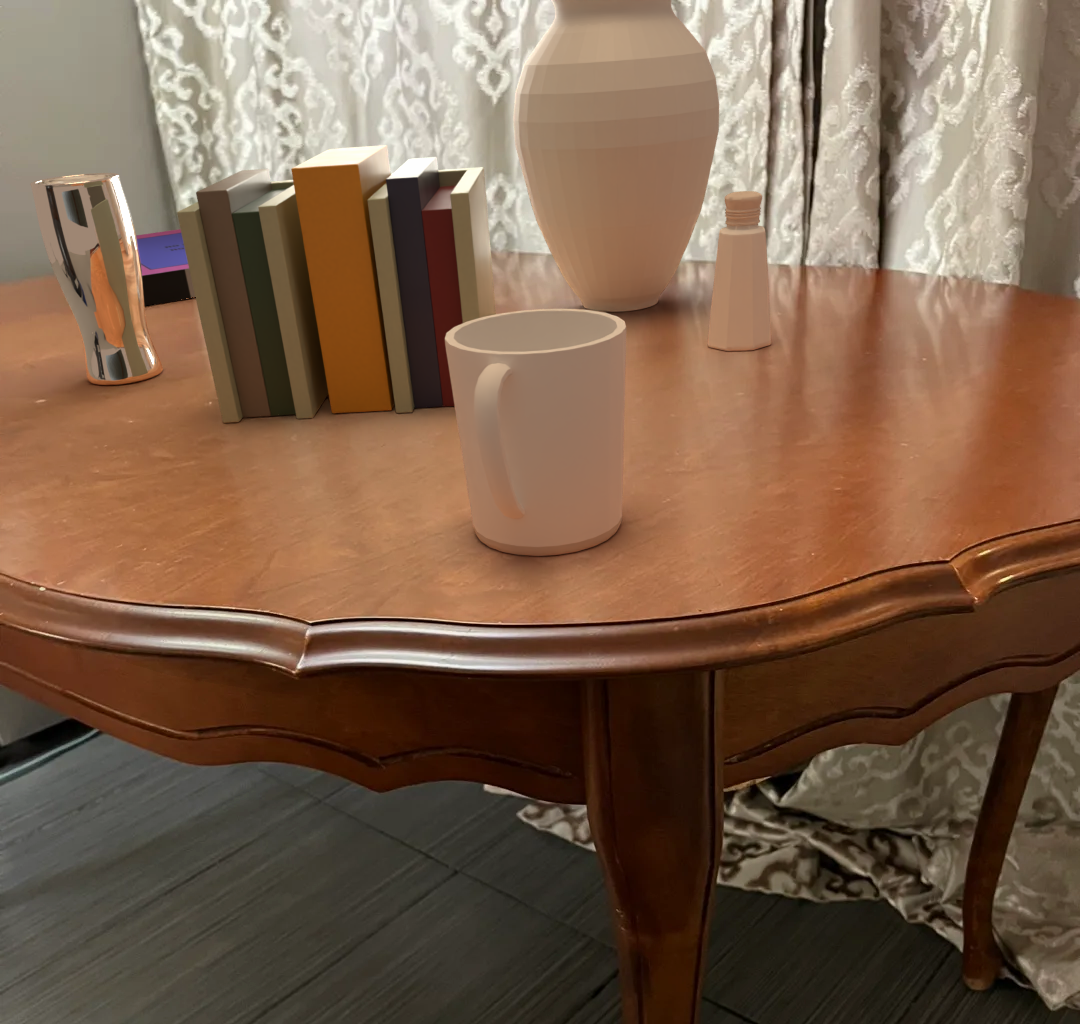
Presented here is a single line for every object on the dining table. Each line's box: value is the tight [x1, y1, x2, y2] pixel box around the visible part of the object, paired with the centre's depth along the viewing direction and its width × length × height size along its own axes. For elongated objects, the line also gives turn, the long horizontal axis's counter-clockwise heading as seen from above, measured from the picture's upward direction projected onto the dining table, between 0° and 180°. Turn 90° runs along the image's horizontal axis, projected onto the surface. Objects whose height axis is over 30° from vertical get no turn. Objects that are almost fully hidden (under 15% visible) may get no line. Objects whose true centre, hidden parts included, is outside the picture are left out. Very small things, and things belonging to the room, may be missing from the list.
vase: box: [512, 0, 720, 313], centre depth 98 cm, size 18×18×25 cm
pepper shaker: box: [707, 190, 772, 352], centre depth 87 cm, size 5×5×11 cm
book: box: [136, 228, 195, 307], centre depth 132 cm, size 21×3×30 cm
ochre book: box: [291, 144, 395, 414], centre depth 81 cm, size 4×12×16 cm, turn 178°
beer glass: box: [29, 172, 164, 386], centre depth 90 cm, size 7×7×15 cm
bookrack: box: [176, 156, 497, 424], centre depth 82 cm, size 19×14×15 cm
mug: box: [445, 308, 627, 557], centre depth 57 cm, size 11×9×10 cm
